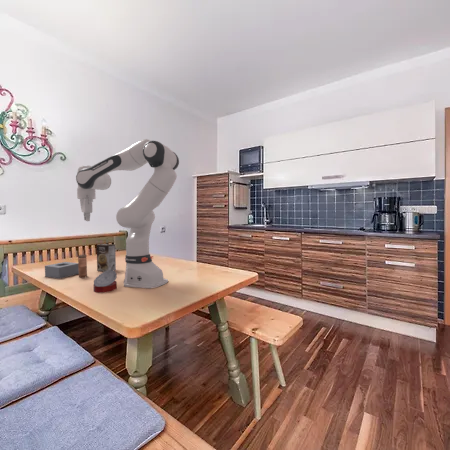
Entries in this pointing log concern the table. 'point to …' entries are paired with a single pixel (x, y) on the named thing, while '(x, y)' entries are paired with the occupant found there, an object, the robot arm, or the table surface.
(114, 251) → the coffee box
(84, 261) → the terracotta peg
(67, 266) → the socket block
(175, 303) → the table surface
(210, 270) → the table surface
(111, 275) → the canned food
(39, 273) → the table surface
